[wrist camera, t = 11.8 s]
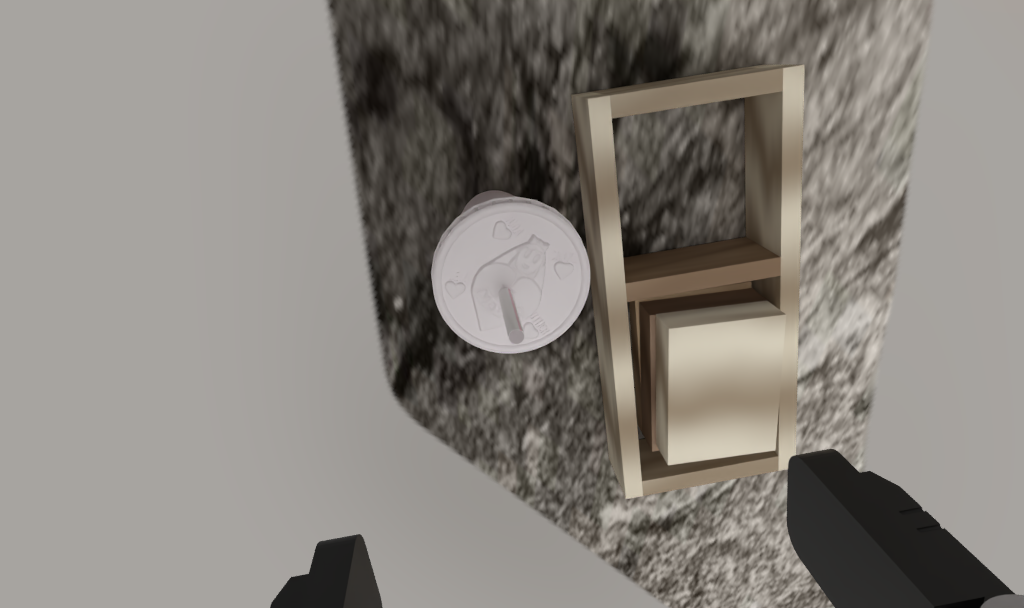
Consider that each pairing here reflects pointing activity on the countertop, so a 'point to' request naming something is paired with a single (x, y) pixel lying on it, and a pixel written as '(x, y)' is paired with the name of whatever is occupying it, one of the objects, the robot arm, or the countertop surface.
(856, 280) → the countertop surface
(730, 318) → the offcut top
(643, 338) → the block
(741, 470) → the offcut rack
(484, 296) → the smoothie
